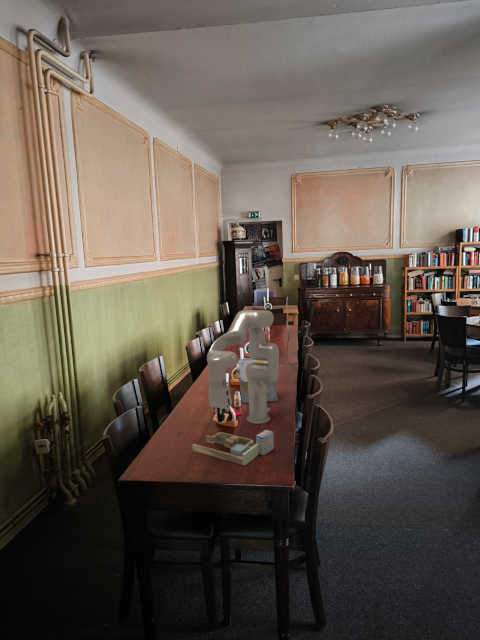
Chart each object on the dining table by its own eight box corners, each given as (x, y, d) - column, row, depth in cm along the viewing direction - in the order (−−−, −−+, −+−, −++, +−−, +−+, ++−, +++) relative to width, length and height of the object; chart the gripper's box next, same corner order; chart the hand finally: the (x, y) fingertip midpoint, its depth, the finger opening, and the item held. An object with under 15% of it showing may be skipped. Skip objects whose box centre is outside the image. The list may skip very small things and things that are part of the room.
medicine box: (266, 446, 201) (265, 429, 200) (274, 449, 198) (273, 431, 197) (256, 453, 195) (255, 435, 194) (264, 456, 192) (263, 437, 191)
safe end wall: (256, 454, 194) (256, 443, 193) (258, 454, 193) (258, 444, 193) (242, 465, 185) (242, 454, 184) (244, 465, 184) (244, 454, 183)
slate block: (238, 454, 195) (237, 443, 194) (248, 457, 192) (247, 446, 191) (231, 459, 191) (230, 448, 190) (241, 462, 188) (240, 451, 187)
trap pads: (220, 438, 211) (220, 438, 211) (250, 446, 202) (250, 446, 202) (214, 442, 208) (214, 442, 208) (245, 450, 198) (245, 450, 198)
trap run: (215, 436, 215) (215, 430, 214) (263, 448, 199) (263, 442, 199) (192, 450, 200) (192, 444, 200) (242, 465, 185) (242, 458, 184)
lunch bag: (240, 406, 255) (238, 362, 250) (239, 396, 271) (237, 355, 267) (278, 403, 255) (276, 360, 251) (275, 394, 272) (273, 353, 268)
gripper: (236, 382, 191) (239, 420, 195) (209, 378, 199) (213, 414, 203) (226, 388, 185) (229, 427, 189) (199, 383, 193) (203, 421, 197)
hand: (221, 421), depth 196 cm, fingers closed
